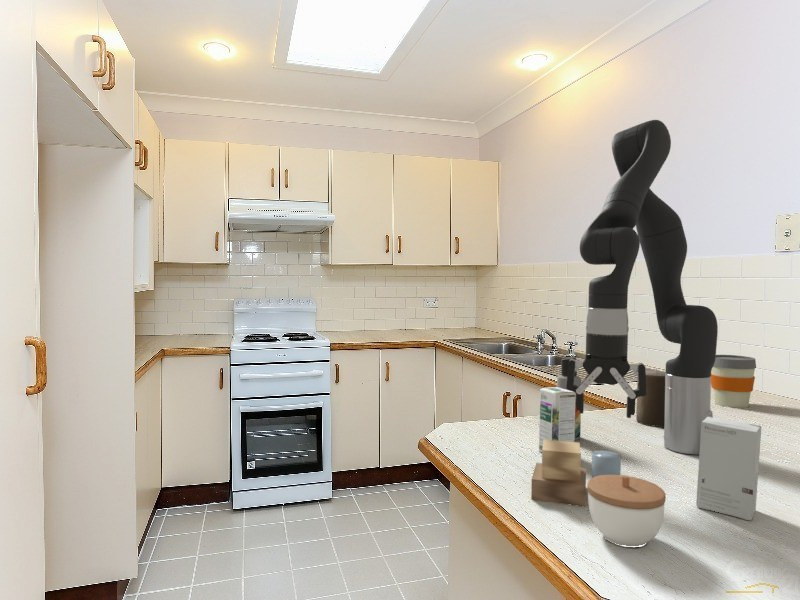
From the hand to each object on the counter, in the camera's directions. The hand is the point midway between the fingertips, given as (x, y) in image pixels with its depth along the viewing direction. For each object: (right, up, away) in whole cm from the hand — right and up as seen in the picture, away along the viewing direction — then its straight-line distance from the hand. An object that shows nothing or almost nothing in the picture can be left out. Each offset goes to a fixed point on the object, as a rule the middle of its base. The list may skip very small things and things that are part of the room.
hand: (604, 414), depth 102 cm
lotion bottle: (+2, -12, +28) cm, 31 cm away
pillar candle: (+31, -12, +42) cm, 53 cm away
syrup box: (-5, -12, +16) cm, 21 cm away
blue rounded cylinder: (0, -13, 0) cm, 13 cm away
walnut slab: (-11, -13, -6) cm, 18 cm away
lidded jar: (-6, -14, -23) cm, 27 cm away
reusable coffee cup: (+65, -11, +64) cm, 92 cm away
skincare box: (+16, -13, -13) cm, 24 cm away
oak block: (-10, -9, -6) cm, 15 cm away
